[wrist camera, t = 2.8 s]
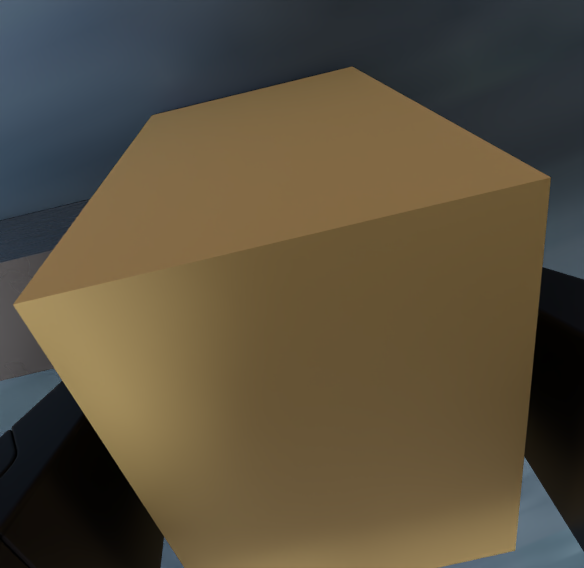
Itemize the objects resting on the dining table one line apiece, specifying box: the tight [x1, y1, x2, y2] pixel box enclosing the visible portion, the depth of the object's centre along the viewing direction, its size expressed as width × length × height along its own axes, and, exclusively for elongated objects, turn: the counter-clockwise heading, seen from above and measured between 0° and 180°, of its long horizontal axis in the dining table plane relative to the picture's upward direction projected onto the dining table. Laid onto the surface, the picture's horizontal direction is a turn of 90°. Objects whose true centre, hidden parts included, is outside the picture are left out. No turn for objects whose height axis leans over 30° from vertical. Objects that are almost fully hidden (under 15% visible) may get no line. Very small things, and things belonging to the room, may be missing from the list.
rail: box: [0, 199, 90, 381], centre depth 12 cm, size 3×16×3 cm, turn 102°
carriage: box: [13, 67, 551, 568], centre depth 9 cm, size 6×5×8 cm
